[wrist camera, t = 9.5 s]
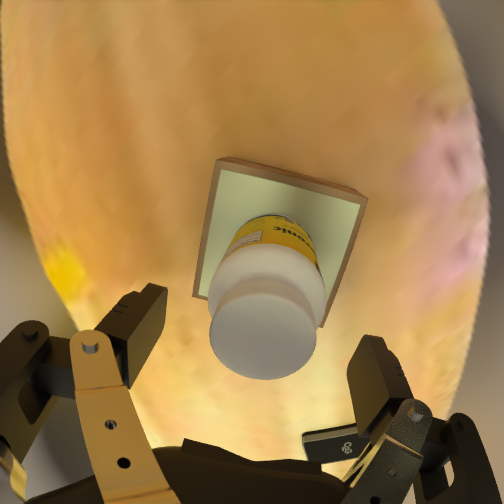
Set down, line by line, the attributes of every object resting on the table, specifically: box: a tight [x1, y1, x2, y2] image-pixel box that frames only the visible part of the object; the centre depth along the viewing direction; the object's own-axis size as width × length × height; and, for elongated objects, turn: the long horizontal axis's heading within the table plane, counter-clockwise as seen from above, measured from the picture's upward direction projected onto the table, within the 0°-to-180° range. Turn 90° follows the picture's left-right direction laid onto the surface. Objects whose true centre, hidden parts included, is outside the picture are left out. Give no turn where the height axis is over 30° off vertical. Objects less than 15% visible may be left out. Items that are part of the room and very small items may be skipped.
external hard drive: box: [302, 423, 371, 464], centre depth 32 cm, size 7×11×2 cm, turn 106°
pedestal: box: [192, 157, 368, 328], centre depth 22 cm, size 10×10×4 cm
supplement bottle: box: [208, 213, 326, 380], centre depth 15 cm, size 5×5×10 cm
